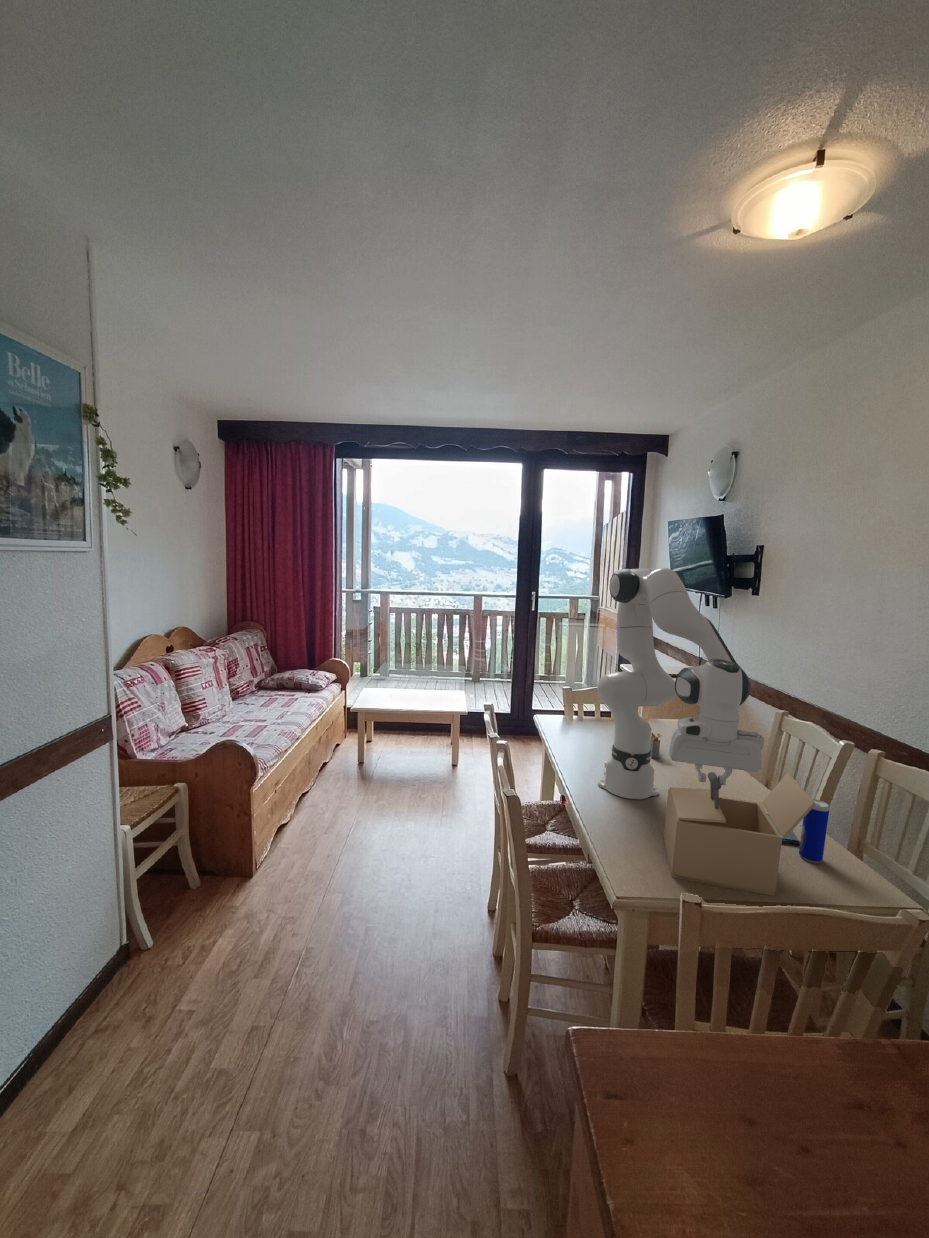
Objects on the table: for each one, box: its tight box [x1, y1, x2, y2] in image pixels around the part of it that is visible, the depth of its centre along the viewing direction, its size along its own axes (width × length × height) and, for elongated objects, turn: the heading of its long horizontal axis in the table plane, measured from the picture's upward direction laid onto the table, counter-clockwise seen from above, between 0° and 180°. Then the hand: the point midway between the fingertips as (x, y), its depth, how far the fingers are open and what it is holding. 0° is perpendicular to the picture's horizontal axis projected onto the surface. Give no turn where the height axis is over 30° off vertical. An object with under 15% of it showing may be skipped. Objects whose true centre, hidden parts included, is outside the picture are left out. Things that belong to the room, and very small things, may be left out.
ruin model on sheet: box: [650, 732, 662, 760], centre depth 207 cm, size 11×3×10 cm, turn 178°
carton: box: [663, 788, 783, 897], centre depth 131 cm, size 18×22×14 cm
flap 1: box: [669, 771, 726, 823], centre depth 131 cm, size 17×10×7 cm, turn 165°
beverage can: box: [798, 798, 830, 864], centre depth 136 cm, size 5×5×15 cm
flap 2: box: [760, 772, 816, 838], centre depth 126 cm, size 17×10×1 cm
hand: (711, 782), depth 130 cm, fingers open, 3 cm apart
